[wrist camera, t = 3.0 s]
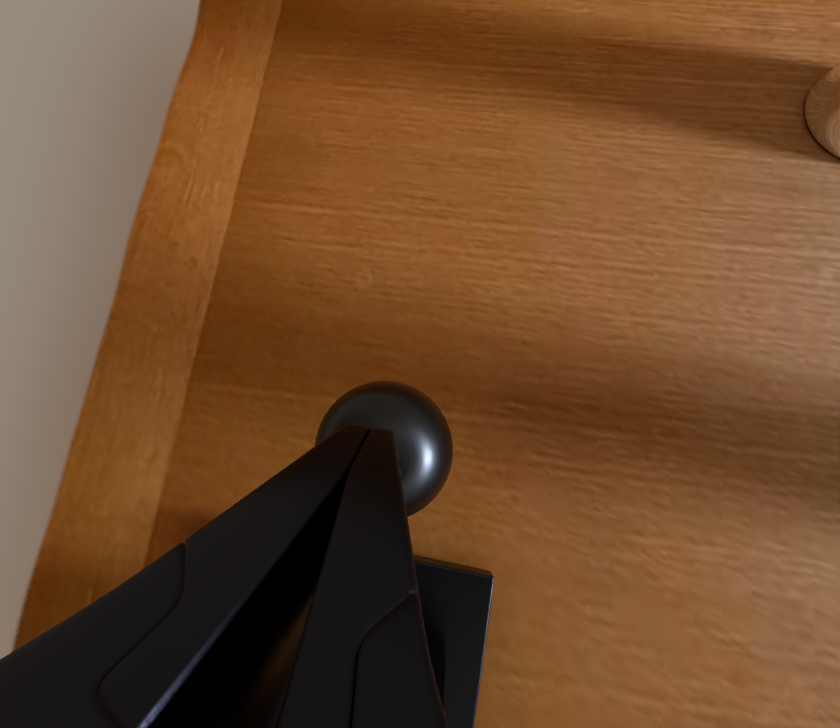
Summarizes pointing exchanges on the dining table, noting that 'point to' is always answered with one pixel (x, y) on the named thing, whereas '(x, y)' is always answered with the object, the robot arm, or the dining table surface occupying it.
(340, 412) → the switch
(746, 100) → the dining table surface
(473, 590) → the switch bracket
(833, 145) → the beer glass
